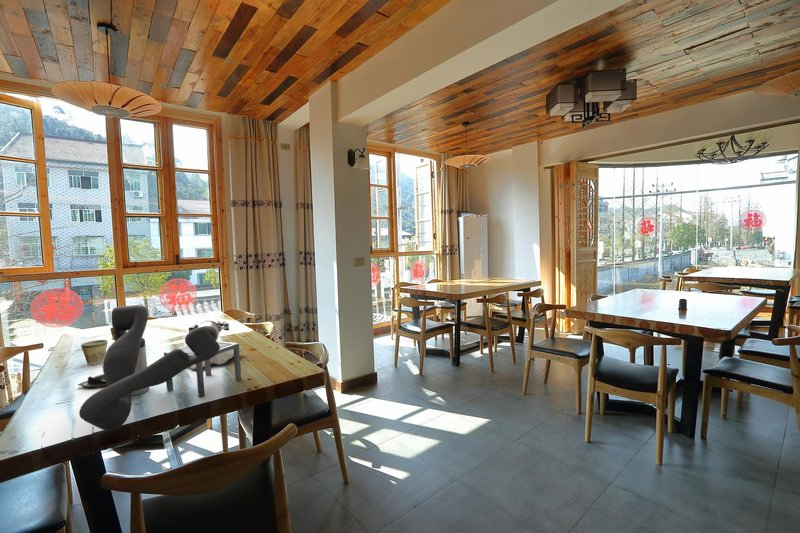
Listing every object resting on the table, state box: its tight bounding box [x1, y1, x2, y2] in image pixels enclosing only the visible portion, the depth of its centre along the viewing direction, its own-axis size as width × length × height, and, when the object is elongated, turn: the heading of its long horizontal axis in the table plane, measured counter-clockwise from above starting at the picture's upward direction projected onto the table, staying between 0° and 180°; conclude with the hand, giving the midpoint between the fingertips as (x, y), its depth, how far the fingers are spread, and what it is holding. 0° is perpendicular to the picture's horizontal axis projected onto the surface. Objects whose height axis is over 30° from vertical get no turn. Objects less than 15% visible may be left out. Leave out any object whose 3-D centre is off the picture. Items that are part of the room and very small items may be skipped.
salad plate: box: [77, 373, 108, 390], centre depth 161 cm, size 19×18×5 cm
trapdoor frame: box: [163, 340, 242, 398], centre depth 150 cm, size 19×19×15 cm
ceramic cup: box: [80, 339, 108, 366], centre depth 187 cm, size 13×10×10 cm
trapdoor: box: [180, 343, 230, 355], centre depth 149 cm, size 14×14×1 cm
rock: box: [188, 345, 244, 370], centre depth 179 cm, size 19×7×25 cm
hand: (211, 324), depth 151 cm, fingers closed on lemon, 4 cm apart
